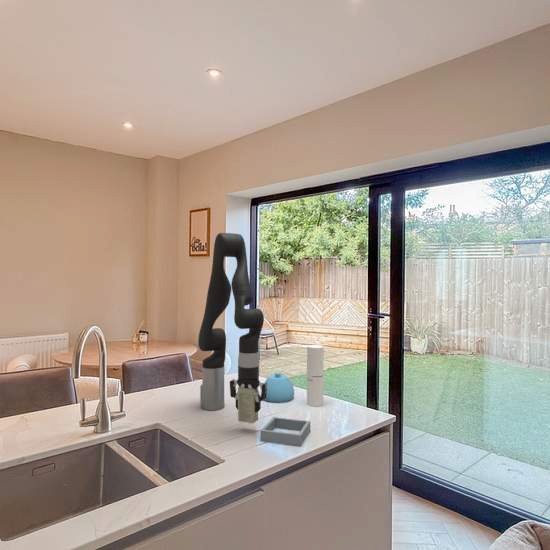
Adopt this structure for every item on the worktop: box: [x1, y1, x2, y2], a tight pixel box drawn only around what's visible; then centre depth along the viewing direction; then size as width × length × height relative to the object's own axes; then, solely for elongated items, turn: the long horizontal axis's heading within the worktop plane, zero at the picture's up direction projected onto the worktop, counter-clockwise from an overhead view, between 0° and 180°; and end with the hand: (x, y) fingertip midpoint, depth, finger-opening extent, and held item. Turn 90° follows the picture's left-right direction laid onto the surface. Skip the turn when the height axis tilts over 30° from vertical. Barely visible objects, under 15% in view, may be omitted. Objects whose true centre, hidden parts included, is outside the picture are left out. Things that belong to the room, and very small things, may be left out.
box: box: [259, 416, 311, 447], centre depth 143 cm, size 14×14×4 cm
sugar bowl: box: [264, 371, 295, 403], centre depth 187 cm, size 15×15×12 cm
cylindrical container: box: [306, 344, 325, 407], centre depth 179 cm, size 7×7×25 cm
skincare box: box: [237, 386, 259, 424], centre depth 148 cm, size 6×4×12 cm
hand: (248, 410), depth 148 cm, fingers closed on skincare box, 6 cm apart
